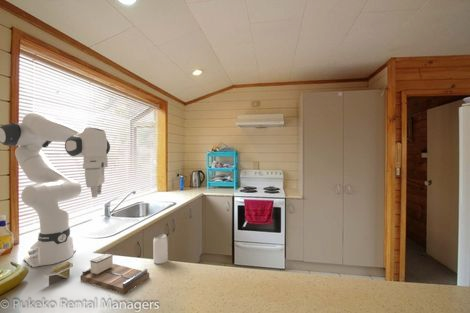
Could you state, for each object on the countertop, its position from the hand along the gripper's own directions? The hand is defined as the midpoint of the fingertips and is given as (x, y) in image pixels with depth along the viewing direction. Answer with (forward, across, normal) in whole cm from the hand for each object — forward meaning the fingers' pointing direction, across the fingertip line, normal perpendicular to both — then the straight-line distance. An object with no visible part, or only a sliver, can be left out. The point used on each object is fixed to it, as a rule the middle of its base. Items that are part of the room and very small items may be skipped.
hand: (96, 195), depth 95 cm
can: (+34, 0, +26) cm, 43 cm away
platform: (+34, -1, -14) cm, 37 cm away
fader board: (+34, +8, +7) cm, 36 cm away
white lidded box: (+31, +2, +1) cm, 31 cm away
